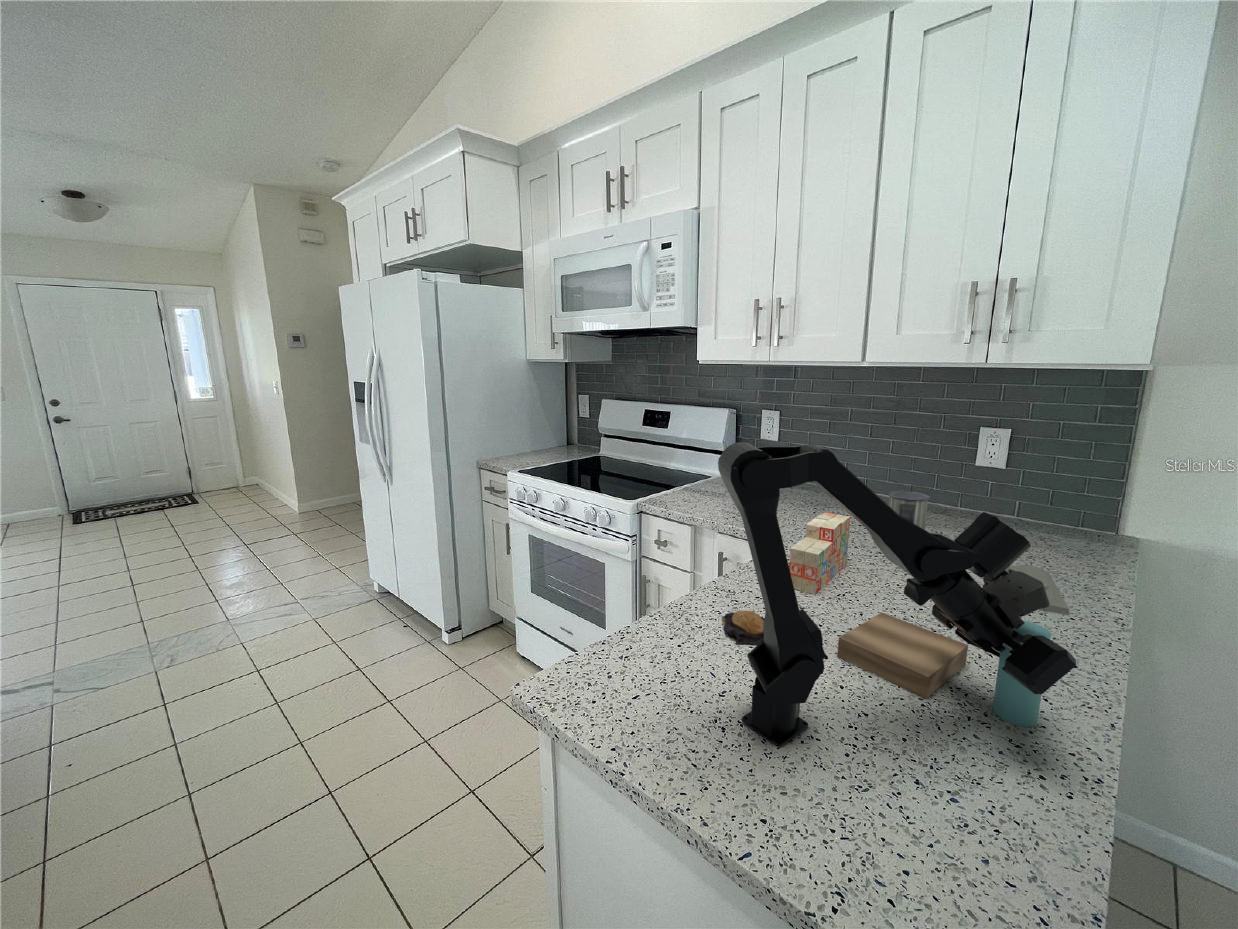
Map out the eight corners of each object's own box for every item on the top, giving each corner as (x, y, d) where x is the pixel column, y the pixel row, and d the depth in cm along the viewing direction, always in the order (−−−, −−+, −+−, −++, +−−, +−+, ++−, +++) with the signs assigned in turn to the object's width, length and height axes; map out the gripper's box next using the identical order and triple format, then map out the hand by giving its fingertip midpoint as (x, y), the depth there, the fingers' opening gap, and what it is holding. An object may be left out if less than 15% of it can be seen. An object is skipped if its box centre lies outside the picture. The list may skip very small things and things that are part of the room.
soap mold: (1003, 605, 105) (1005, 589, 105) (995, 571, 122) (997, 557, 121) (1069, 618, 100) (1072, 601, 99) (1051, 580, 117) (1053, 565, 116)
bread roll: (718, 619, 102) (718, 602, 101) (761, 618, 102) (762, 601, 101) (729, 649, 91) (729, 629, 91) (777, 648, 91) (778, 628, 90)
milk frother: (879, 543, 140) (884, 489, 137) (944, 546, 136) (951, 491, 133) (894, 563, 126) (900, 504, 123) (967, 568, 123) (975, 507, 120)
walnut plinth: (926, 698, 76) (928, 677, 76) (837, 656, 87) (838, 637, 87) (965, 664, 84) (968, 645, 84) (880, 630, 95) (881, 612, 95)
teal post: (1029, 732, 69) (1044, 642, 67) (986, 712, 73) (998, 627, 71) (1042, 716, 72) (1056, 630, 70) (1000, 698, 76) (1011, 616, 74)
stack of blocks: (816, 596, 110) (819, 540, 107) (787, 588, 114) (789, 534, 111) (847, 564, 126) (850, 515, 124) (820, 558, 130) (823, 511, 127)
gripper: (1073, 588, 59) (1149, 672, 61) (960, 533, 77) (1021, 600, 80) (997, 654, 60) (1074, 734, 63) (903, 585, 78) (965, 649, 81)
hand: (1030, 671), depth 71 cm, fingers closed on teal post, 5 cm apart
